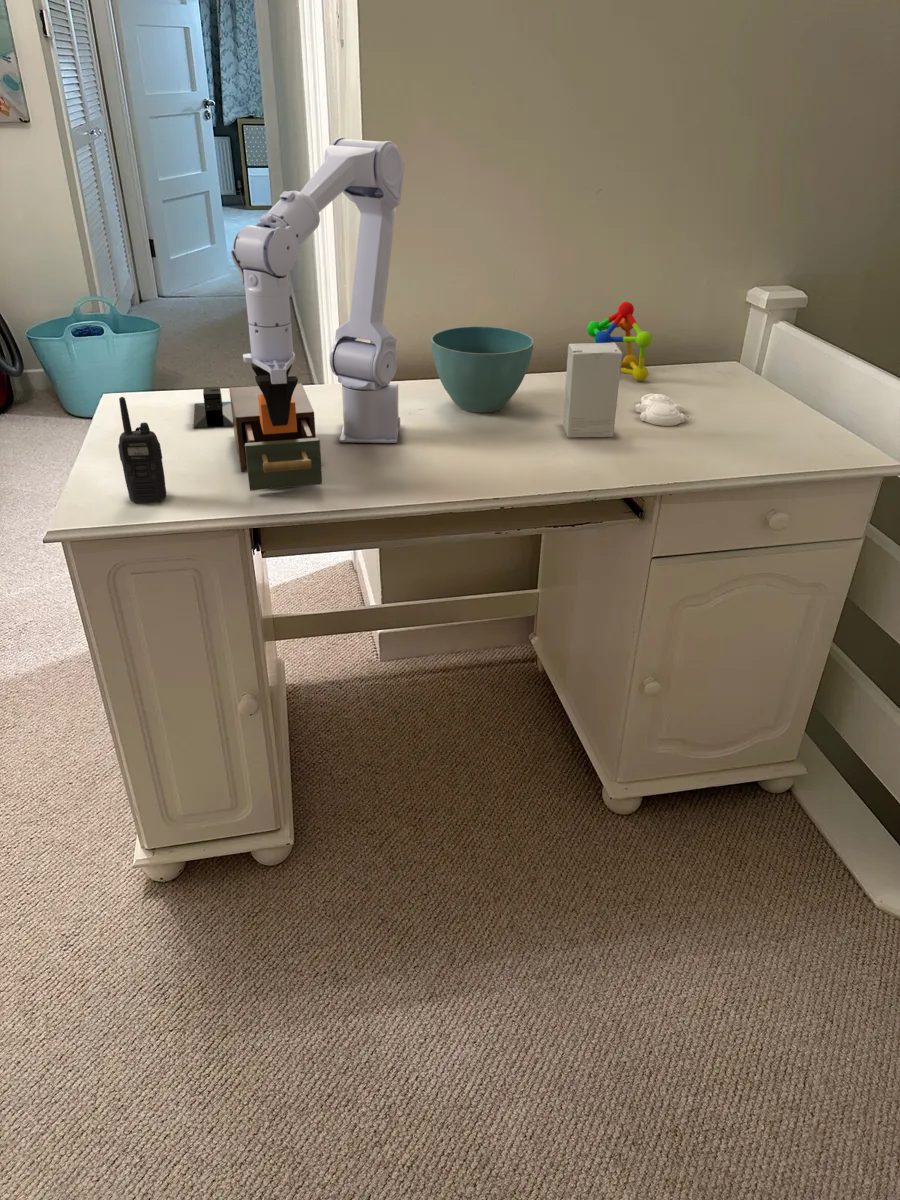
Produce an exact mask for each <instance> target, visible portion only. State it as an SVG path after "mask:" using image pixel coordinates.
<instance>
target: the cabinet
mask: <svg viewBox="0 0 900 1200" xmlns="http://www.w3.org/2000/svg"><path fill="white" fill-rule="evenodd" d="M228 389H229V390H228V391H229V400H230V402H231V409H232V417H233V426H234V427H233V433H234V442H235V446H236V451H237V457H238V461H239V467H240V471H241V473H242V472H248V471H247V462H246V452H245V443H246V438H245V428H244V422H251V421H260V415H259V404H258V394H263V393H262V391H261V389H260V388H259V386H258V385H255V386H252V385H251V386H240V387H239V386H238V387H229V388H228ZM292 396H293V398H294V401H295V407H296V418H305V419H306V421H307V424H308V426H309V429H310V431H311V434H312V437H313V438H317V435H316V422H315V421H316V420H315V410H314V408H313V407H312V404H311V401H310V399H309V397H308V395H307V393H306V390H305V388H304V386H303V383H302V382H301V383H297V385H296V387H295V389H294V392H293V395H292Z"/></svg>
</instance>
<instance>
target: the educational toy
mask: <svg viewBox="0 0 900 1200" xmlns="http://www.w3.org/2000/svg"><path fill="white" fill-rule="evenodd" d="M634 311H635V307H634V305H633V304H632V303H631V301H630V302H629V301H623V302H621V303H620V304H619V306H618V309H617V312H615V313H614V314H612V315H610V316H608V317H606V318H605V319H604V320H602V321H600V322H599V321H597V320H593V321H591V322H589V323H588V324H587V327H586V333H587V335H588V336H590V337H592V338H593V343H626V355H625V356H624V357H623V358H622V359H623V360H621V369H620V374H625V375H630V376H631V375H632V378H633V379H634V380H635V381H637V382H643V381H645V380H646V379H647V378H648V376H649V370H648V368H647V367H646V365H645V358H646V357H645V356H646V348H647V347H649V346H650V345H651V344H652V341H653V340H652V339H653V338H652V335H651V333H650V332H649V331H646V330H642V329H641V327H640V325H639V323H638V322H637V320H636V319H635V317H634V315H633V314H634V313H635V312H634ZM616 328H620V329H621V330H623V331H625V336H612V335H611V334H612V333H613V331H614V330H615V329H616ZM632 330H634V331H635V334H636V336H632V333H631V331H632ZM632 343H636V346H638V347H639V356H638V357H637V356H636V355H634V354H633V346H632Z"/></svg>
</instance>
